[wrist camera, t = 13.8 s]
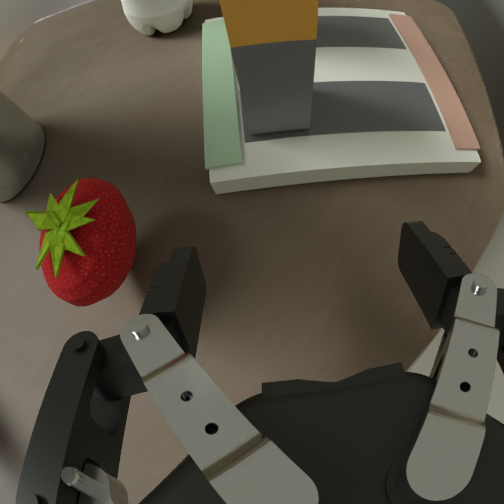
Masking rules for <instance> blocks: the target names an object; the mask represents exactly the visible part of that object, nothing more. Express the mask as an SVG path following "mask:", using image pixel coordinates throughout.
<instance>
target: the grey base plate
mask: <svg viewBox="0 0 504 504" xmlns="http://www.w3.org/2000/svg"><path fill="white" fill-rule="evenodd" d="M202 81H203V126H204V155H205V169H206V170H208V169H209V177H210V184H211V186H212V188H213V190H214V191H215V193H216V194H223V193H230V192H237V191H245V190H252V189H260V188H268V187H276V186H285V185H294V184H303V183H313V182H323V181H333V180H344V179H356V178H369V177H383V176H398V175H416V174H438V173H470V172H471V171H472V170H473V169H474V168H475V167H476V166H477V165H478V164H480V163H481V160H480V157H479V154H478V152H477V150H480V149H481V148H480V146H479V143H478V141H477V138H476V136H475V133H474V131H473V128H472V126H471V124H470V121H469V119H468V117H467V115H466V112H465V110H464V108H463V106H462V104H461V102H460V100H459V98H458V96H457V94H456V92H455V90H454V88H453V86H452V84H451V82H450V80H449V78H448V76H447V74H446V73H445V71H444V69H443V67H442V65H441V64H440V62H439V60H438V59H437V57H436V55H435V53H434V52H433V50H432V48H431V47H430V45H429V44H428V42H427V40H426V39H425V37H424V36H423V34H422V33H421V31H420V30H419V28H418V27H417V25H416V24H415V22H414V21H413V19H412V18H411V17H410V16H406V15H405V13H404V12H396V11H387V10H375V9H360V8H318V23H317V41H316V56H315V70H314V84H313V96H312V108H311V119H310V128H308V129H297V130H287V131H278V132H269V133H261V134H253V135H250V134H249V129H248V125H247V120H246V115H245V111H244V106H243V101H242V97H241V92H240V88H239V83H238V79H237V74H236V70H235V66H234V61H233V57H232V52H231V48H230V44H229V39H228V35H227V31H226V26H225V22H224V18H223V17H218V18H212V19H207V20H205V23H203V24H202Z"/></svg>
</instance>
